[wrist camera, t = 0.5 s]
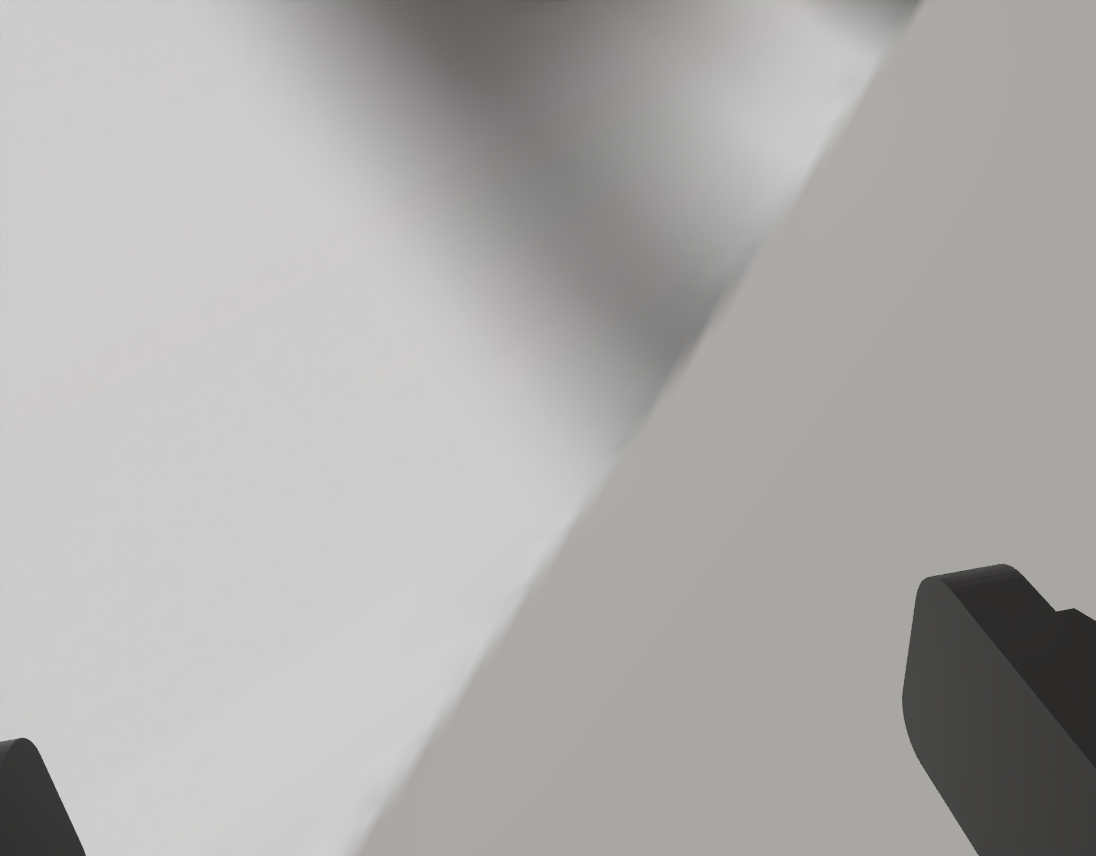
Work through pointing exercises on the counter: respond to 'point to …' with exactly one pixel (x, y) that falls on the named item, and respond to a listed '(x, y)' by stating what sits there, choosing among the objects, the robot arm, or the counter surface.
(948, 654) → the robot arm
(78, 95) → the counter surface
